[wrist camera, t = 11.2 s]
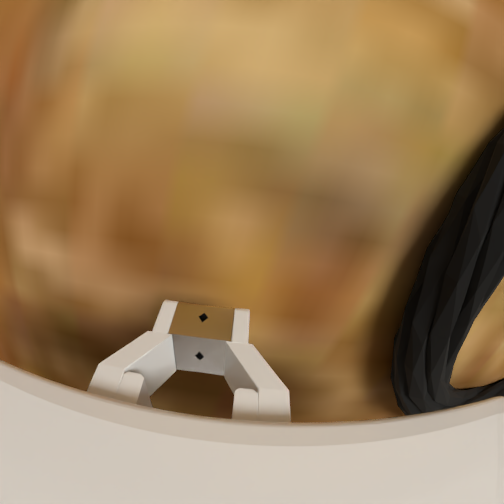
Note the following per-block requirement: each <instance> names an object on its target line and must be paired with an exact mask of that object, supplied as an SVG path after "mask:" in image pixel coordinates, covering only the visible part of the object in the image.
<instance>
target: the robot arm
mask: <svg viewBox="0 0 504 504" xmlns="http://www.w3.org/2000/svg"><path fill="white" fill-rule="evenodd" d="M234 310H235V311H234ZM249 318H250V310H249V309H241V308H227V307H217V306H208V305H200V304H193V303H186V302H180V301H179V302H178V301H171V300H165V301H164V302H163V304H162V306H161V309H160V311H159V314H158V316H157V319H156V322H155V324H154V327H153V330H152V331H147V332H145V333H144V334H142V335H141V336H139V337H138V338H136V339H135V340H133V341H132V342H130V343H129V344H127V345H126V346H124V347H123V348H121V349H120V350H118V351H117V352H115V353H114V354H112V355H111V356H109V357H108V358H106V359H105V360H103V361H102V362H100V363H99V364H98V367H97V369H96V371H95V373H94V376H93V378H92V380H91V382H90V385H89V387H88V389H87V392H86V391H83V390H80V389H76V388H73V387H70V386H67V385H64V384H61V383H58V382H55V381H52V380H49V379H47V378H44V377H41V376H39V375H36V374H33V373H31V372H28V371H26V370H23V369H21V368H18V367H16V366H14V365H11V364H9V363H7V362H4V361H2V360H0V504H504V397H503V396H497V397H493V398H489V399H486V400H483V401H479V402H475V403H471V404H466V405H462V406H458V407H453V408H448V409H443V410H438V411H432V412H427V413H421V414H414V415H407V416H400V417H392V418H383V419H373V420H360V421H344V422H311V423H298V422H291V415H290V397H289V390H288V389H287V387H286V386H285V385H284V384H283V382H282V381H281V380H280V379H279V377H278V376H277V375H276V374H275V372H274V371H273V370H272V368H271V367H270V366H269V365H268V363H267V362H266V361H265V360H264V358H263V357H262V356H261V354H260V353H259V352H258V350H257V349H256V348H255V347H254V345H253V344H248V338H249ZM176 369H177V370H186V371H194V372H202V373H209V374H216V375H224V378H225V379H226V381H227V383H228V385H229V387H230V388H231V390H232V392H233V394H234V402H233V410H232V419H225V418H216V417H207V416H199V415H192V414H185V413H179V412H173V411H167V410H162V409H156V408H153V407H152V404H151V400H150V396H151V395H152V394H153V393H154V392H155V391H156V390H157V389H158V388H159V387H160V386H161V385H162V384H163V383H164V382H165V381H166V380H167V379H168V378H169V377H170V376H171V375H172V374H173V373H175V372H176Z"/></svg>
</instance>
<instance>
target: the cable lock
mask: <svg viewBox="0 0 504 504" xmlns="http://www.w3.org/2000/svg"><path fill="white" fill-rule="evenodd" d="M503 277H504V128H503V129H502V130H501V131H500V132H499V133H498V134H497V135H496V136H495V137H494V138H493V139H492V140H491V141H490V142H489V144H488V145H487V147H486V149H485V150H484V152H483V154H482V155H481V157H480V159H479V160H478V162H477V163H476V165H475V166H474V168H473V170H472V171H471V173H470V174H469V176H468V177H467V179H466V180H465V182H464V183H463V185H462V186H461V188H460V189H459V191H458V192H457V194H456V196H455V199H454V202H453V204H452V207H451V210H450V212H449V215H448V216H447V218H446V219H445V221H444V223H443V224H442V226H441V227H440V229H439V231H438V232H437V234H436V235H435V237H434V239H433V240H432V242H431V243H430V245H429V246H428V248H427V250H426V254H425V256H424V259H423V262H422V265H421V268H420V271H419V274H418V276H417V279H416V282H415V284H414V287H413V290H412V292H411V295H410V297H409V300H408V302H407V305H406V307H405V311H404V315H403V319H402V323H401V325H400V327H399V329H398V332H397V334H396V336H395V338H394V350H393V360H392V369H391V381H392V384H393V388H394V392H395V396H396V400H397V404H398V406H399V408H400V409H401V410H402V411H403V413H404V414H405V415H406V416H407V415H414V414H421V413H427V412H432V411H438V410H443V409H448V408H453V407H458V406H462V405H466V404H471V403H475V402H479V401H483V400H486V399H489V398H493V397H497V396H503V397H504V380H502V381H501V382H499V383H496V384H491V385H487V386H483V387H476V388H472V389H468V390H458V389H455V388H454V387H452V386H451V385H450V384H449V382H450V378H451V374H452V370H453V365H454V363H455V360H456V357H457V354H458V352H459V350H460V348H461V346H462V344H463V342H464V340H465V338H466V336H467V334H468V332H469V330H470V328H471V326H472V324H473V322H474V320H475V318H476V317H477V315H478V314H479V312H480V311H481V309H482V308H483V306H484V305H485V303H486V302H487V301H488V299H489V298H490V296H491V295H492V293H493V292H494V290H495V289H496V287H497V286H498V284H499V283H500V281H501V280H502V278H503Z"/></svg>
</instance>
